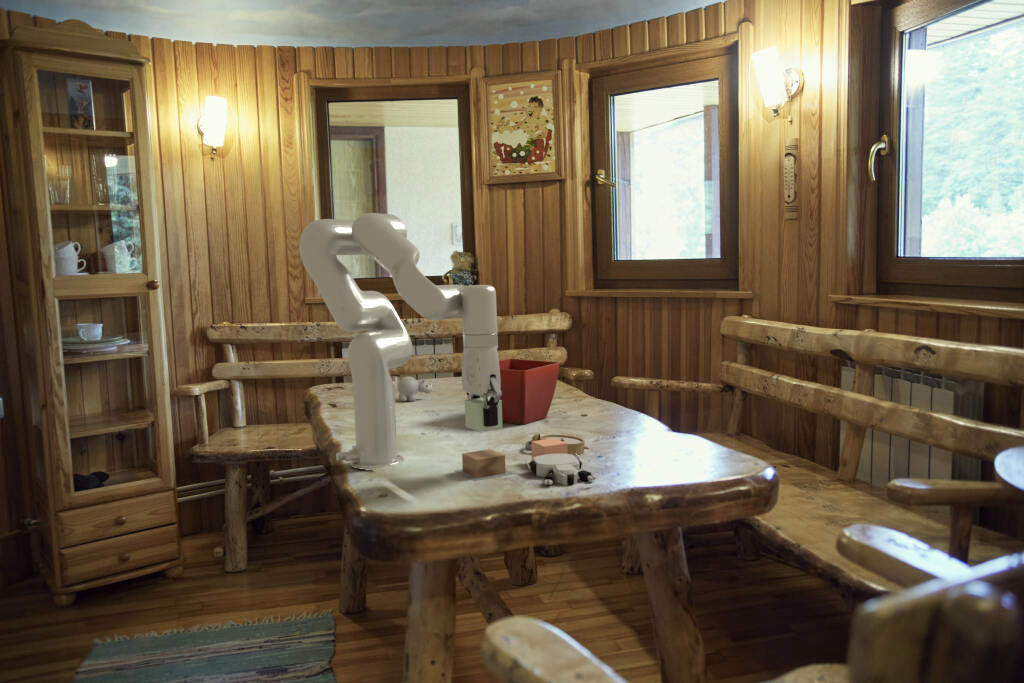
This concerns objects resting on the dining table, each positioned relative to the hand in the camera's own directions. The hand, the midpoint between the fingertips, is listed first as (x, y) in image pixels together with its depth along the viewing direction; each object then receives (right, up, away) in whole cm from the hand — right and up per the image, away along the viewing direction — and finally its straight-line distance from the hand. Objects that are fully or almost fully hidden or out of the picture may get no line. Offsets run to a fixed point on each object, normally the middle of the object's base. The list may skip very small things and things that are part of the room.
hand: (483, 422), depth 173 cm
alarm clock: (+17, -10, +21) cm, 29 cm away
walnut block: (0, -11, +1) cm, 11 cm away
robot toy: (+17, -13, -3) cm, 21 cm away
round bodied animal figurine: (-27, -3, +101) cm, 104 cm away
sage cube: (0, -1, 0) cm, 1 cm away
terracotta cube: (+15, -11, +8) cm, 20 cm away
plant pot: (+8, -6, +63) cm, 64 cm away
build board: (0, -12, +1) cm, 12 cm away
